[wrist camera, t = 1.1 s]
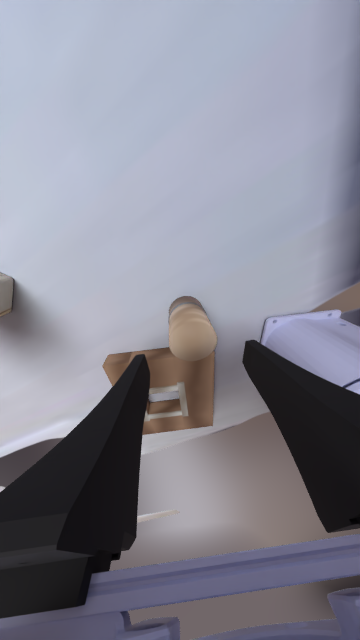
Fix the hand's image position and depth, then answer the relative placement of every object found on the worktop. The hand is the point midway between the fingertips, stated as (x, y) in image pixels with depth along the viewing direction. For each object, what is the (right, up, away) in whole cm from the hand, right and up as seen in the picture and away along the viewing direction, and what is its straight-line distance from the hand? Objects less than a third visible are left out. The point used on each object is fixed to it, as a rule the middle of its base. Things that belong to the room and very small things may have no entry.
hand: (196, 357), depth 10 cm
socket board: (-3, -9, +13) cm, 16 cm away
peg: (0, +4, +7) cm, 8 cm away
